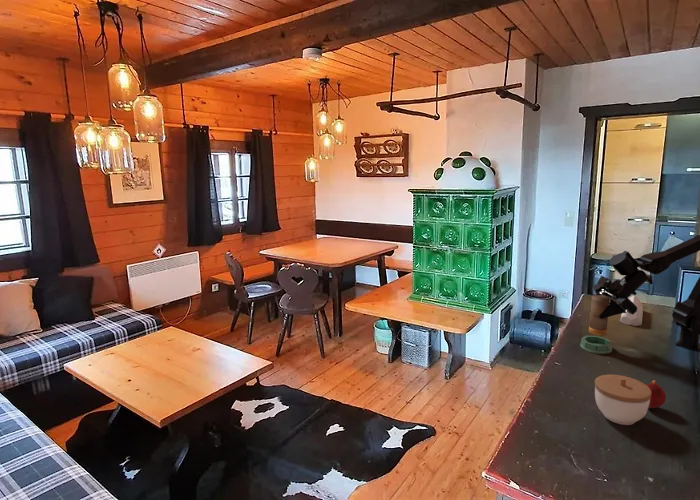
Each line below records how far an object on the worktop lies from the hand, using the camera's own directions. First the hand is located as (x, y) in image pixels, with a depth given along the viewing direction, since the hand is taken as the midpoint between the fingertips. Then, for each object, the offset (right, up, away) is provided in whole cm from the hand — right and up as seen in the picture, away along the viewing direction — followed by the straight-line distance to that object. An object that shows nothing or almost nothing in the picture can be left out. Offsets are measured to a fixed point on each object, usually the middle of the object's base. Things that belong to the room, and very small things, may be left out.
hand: (595, 315), depth 156 cm
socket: (+2, -12, +3) cm, 13 cm away
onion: (-4, -20, -35) cm, 41 cm away
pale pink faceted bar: (+33, -6, +31) cm, 46 cm away
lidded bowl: (-15, -22, -39) cm, 47 cm away
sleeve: (+2, -6, +1) cm, 7 cm away
